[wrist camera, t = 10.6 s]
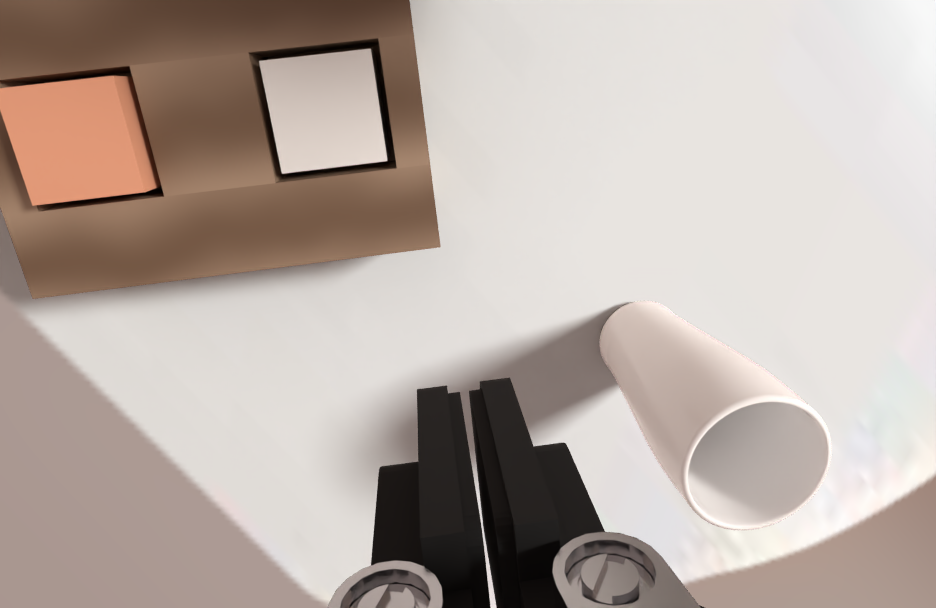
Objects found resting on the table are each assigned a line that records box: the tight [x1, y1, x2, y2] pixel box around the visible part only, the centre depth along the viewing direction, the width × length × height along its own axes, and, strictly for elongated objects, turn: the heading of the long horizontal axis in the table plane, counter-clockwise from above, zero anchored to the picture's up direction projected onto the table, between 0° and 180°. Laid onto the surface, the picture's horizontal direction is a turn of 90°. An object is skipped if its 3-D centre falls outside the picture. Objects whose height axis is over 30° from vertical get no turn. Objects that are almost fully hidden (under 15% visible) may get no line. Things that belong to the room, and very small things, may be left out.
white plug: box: [259, 49, 390, 174], centre depth 31 cm, size 5×5×4 cm
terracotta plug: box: [0, 76, 161, 206], centre depth 29 cm, size 5×5×4 cm
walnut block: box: [0, 0, 440, 299], centre depth 32 cm, size 14×20×6 cm
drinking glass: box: [600, 301, 832, 530], centre depth 34 cm, size 7×7×15 cm
